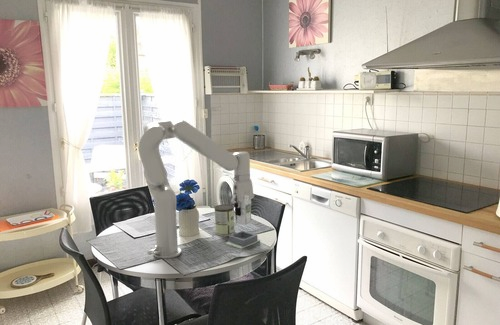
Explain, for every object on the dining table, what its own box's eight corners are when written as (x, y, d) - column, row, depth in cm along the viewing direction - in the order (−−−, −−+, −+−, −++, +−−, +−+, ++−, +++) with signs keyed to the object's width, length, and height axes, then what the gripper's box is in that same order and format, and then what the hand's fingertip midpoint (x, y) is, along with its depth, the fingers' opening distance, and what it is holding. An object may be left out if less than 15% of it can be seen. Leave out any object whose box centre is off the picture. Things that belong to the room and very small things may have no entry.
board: (240, 249, 195) (240, 247, 195) (225, 244, 202) (225, 242, 202) (260, 240, 205) (260, 239, 205) (245, 236, 212) (245, 235, 212)
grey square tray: (243, 246, 196) (243, 240, 196) (228, 241, 203) (228, 235, 203) (257, 240, 204) (257, 235, 203) (242, 236, 210) (242, 230, 210)
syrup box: (241, 219, 206) (240, 191, 203) (251, 221, 203) (251, 192, 200) (235, 223, 201) (234, 194, 198) (246, 224, 198) (245, 195, 195)
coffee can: (216, 229, 223) (216, 204, 221) (235, 229, 222) (235, 204, 220) (213, 235, 213) (212, 209, 211) (233, 236, 212) (232, 209, 210)
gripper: (235, 181, 189) (236, 219, 192) (260, 175, 202) (260, 210, 205) (223, 179, 194) (225, 216, 197) (248, 173, 207) (249, 208, 210)
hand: (243, 213), depth 201 cm, fingers closed on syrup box, 6 cm apart
